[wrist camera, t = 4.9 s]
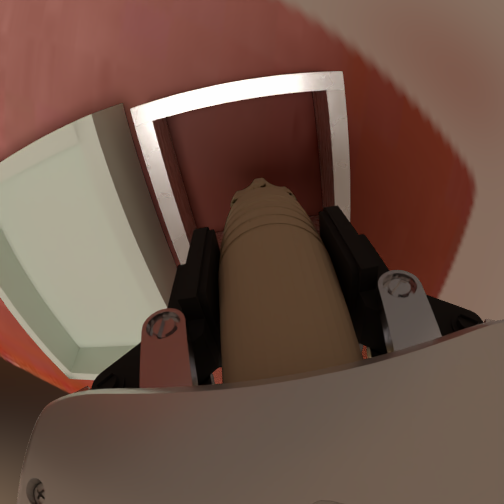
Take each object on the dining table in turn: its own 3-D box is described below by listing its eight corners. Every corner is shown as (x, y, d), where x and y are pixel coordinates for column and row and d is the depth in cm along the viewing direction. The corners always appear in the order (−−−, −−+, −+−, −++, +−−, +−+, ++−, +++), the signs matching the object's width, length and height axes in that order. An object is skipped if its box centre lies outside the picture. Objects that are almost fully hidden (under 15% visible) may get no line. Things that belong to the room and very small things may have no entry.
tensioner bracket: (334, 314, 26) (358, 386, 20) (220, 333, 27) (220, 409, 20) (325, 71, 14) (391, 74, 8) (146, 102, 15) (85, 128, 8)
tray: (207, 338, 27) (205, 377, 24) (80, 347, 28) (69, 378, 24) (122, 102, 15) (91, 113, 11) (-21, 177, 15) (-52, 201, 12)
